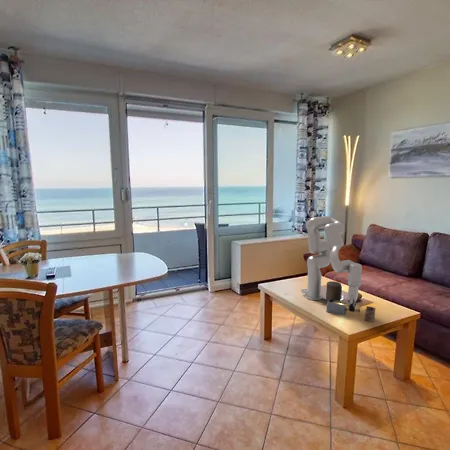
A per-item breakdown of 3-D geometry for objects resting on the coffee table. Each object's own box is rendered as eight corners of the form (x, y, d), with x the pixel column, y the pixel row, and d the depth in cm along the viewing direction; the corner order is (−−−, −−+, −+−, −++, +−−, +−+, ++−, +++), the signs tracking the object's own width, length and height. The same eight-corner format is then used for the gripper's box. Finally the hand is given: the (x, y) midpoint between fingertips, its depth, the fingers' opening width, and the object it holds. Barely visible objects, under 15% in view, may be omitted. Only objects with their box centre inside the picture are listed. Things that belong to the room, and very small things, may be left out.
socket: (364, 320, 186) (365, 309, 185) (365, 316, 192) (366, 306, 191) (373, 322, 184) (374, 311, 182) (374, 318, 189) (375, 307, 188)
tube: (332, 307, 197) (333, 302, 196) (334, 305, 200) (334, 300, 199) (359, 313, 189) (359, 308, 188) (360, 311, 192) (360, 306, 191)
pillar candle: (341, 305, 209) (342, 284, 206) (326, 303, 211) (327, 283, 208) (338, 299, 218) (340, 280, 216) (324, 298, 220) (326, 278, 218)
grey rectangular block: (326, 311, 198) (327, 301, 197) (328, 308, 203) (329, 298, 202) (344, 315, 193) (344, 305, 191) (345, 312, 198) (346, 302, 197)
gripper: (350, 278, 199) (348, 304, 201) (345, 285, 185) (343, 313, 187) (362, 280, 195) (360, 306, 198) (358, 287, 181) (356, 316, 184)
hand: (352, 309), depth 192 cm, fingers closed on tube, 3 cm apart
